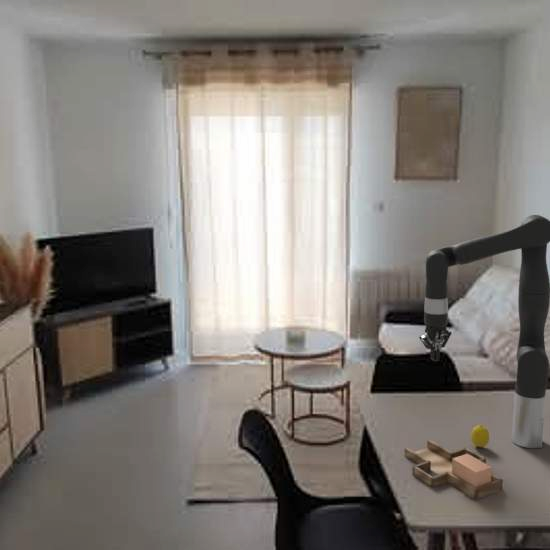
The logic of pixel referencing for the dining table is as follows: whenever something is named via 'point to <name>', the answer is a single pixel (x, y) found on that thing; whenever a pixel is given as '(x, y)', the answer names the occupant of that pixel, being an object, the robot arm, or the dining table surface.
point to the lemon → (480, 436)
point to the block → (471, 470)
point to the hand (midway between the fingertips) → (435, 360)
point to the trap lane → (448, 469)
